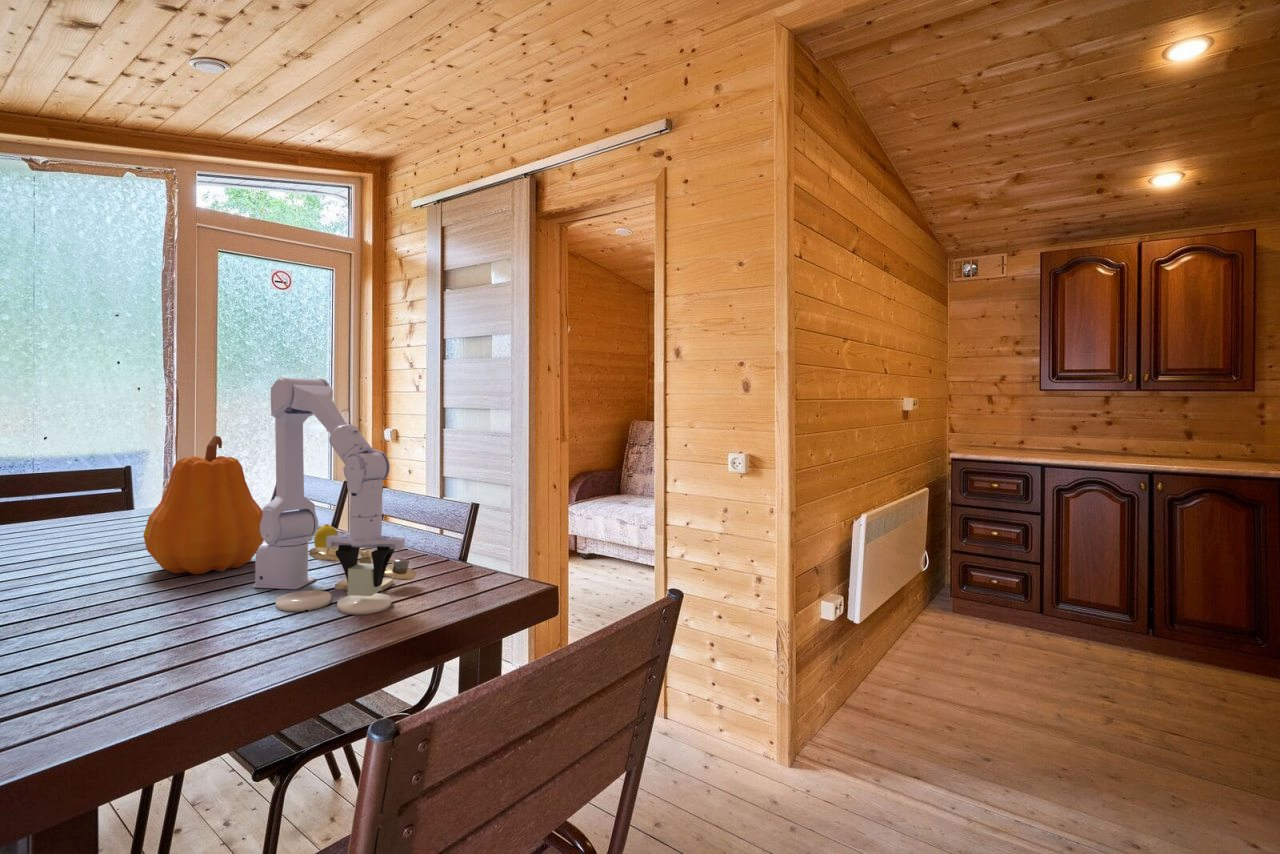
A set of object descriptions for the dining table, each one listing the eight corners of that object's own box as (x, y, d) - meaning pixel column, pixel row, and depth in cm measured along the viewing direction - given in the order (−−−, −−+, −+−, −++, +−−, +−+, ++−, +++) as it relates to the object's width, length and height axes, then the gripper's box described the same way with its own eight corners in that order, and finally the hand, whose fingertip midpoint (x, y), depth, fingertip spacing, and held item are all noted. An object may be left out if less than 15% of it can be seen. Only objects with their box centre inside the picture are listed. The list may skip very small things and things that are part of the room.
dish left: (264, 610, 124) (264, 603, 124) (293, 595, 133) (293, 589, 133) (314, 612, 123) (315, 606, 123) (340, 597, 133) (340, 591, 133)
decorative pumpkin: (168, 556, 160) (168, 432, 159) (277, 553, 166) (278, 434, 165) (122, 583, 137) (122, 439, 136) (250, 578, 144) (251, 441, 143)
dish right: (327, 613, 123) (327, 606, 123) (352, 597, 133) (352, 592, 133) (378, 615, 123) (378, 609, 123) (399, 600, 133) (399, 594, 133)
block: (347, 595, 126) (348, 569, 125) (358, 588, 130) (359, 563, 130) (371, 596, 125) (371, 570, 125) (381, 589, 130) (381, 564, 130)
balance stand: (334, 589, 138) (335, 559, 138) (348, 581, 144) (349, 553, 144) (381, 591, 138) (382, 561, 138) (393, 583, 144) (394, 555, 144)
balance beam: (302, 555, 138) (305, 541, 138) (319, 547, 145) (322, 534, 145) (408, 582, 137) (411, 568, 137) (420, 573, 144) (423, 560, 144)
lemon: (328, 559, 163) (329, 526, 162) (309, 557, 164) (309, 525, 164) (343, 554, 168) (343, 522, 168) (323, 552, 169) (324, 521, 169)
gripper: (318, 517, 124) (317, 589, 124) (394, 520, 123) (393, 592, 124) (337, 510, 131) (336, 578, 131) (409, 513, 130) (408, 582, 131)
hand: (365, 584), depth 128 cm, fingers closed on block, 4 cm apart
